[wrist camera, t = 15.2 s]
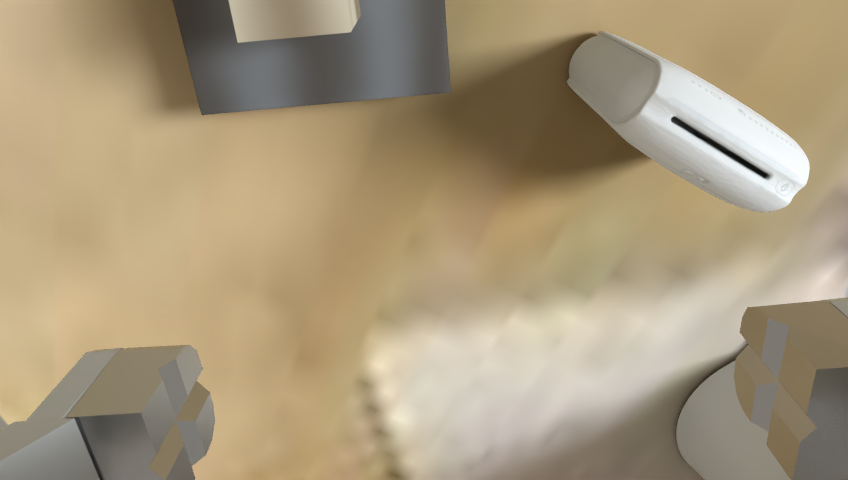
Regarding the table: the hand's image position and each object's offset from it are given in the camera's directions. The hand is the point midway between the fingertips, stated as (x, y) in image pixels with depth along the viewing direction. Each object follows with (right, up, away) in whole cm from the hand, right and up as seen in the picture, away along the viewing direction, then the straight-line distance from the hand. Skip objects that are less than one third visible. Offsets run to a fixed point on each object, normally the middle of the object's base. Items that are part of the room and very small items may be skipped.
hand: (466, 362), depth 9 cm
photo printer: (+13, +11, +29) cm, 34 cm away
